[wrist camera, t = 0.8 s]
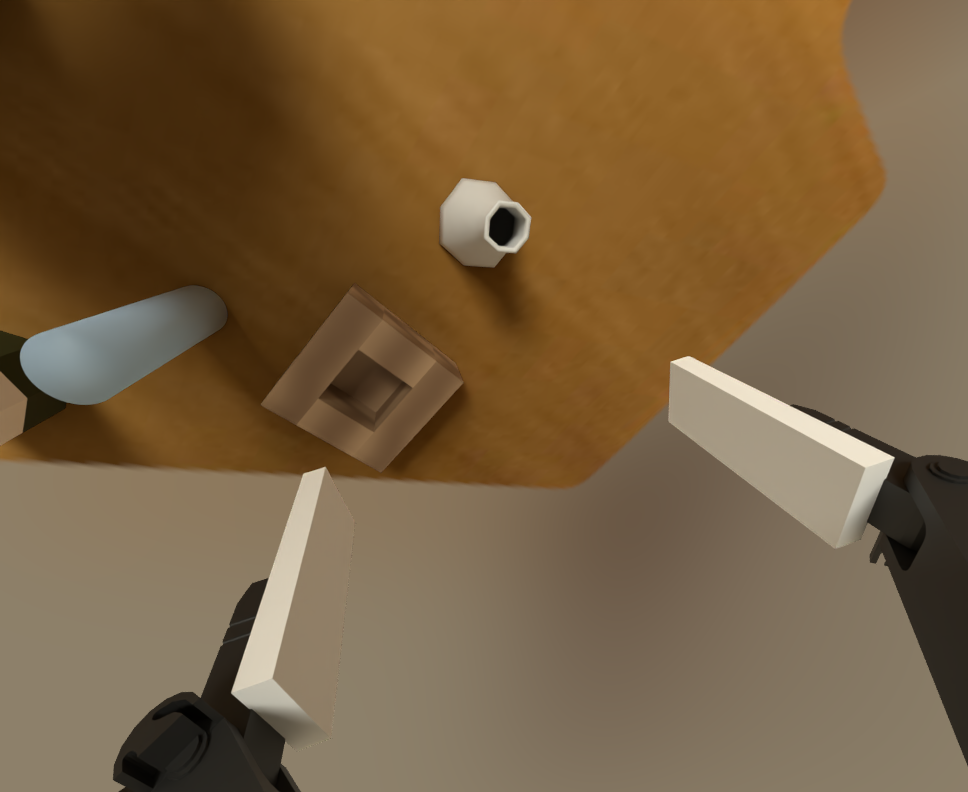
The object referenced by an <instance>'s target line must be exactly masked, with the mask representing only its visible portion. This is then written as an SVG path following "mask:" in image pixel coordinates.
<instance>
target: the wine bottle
mask: <svg viewBox="0 0 968 792" xmlns="http://www.w3.org/2000/svg"><path fill="white" fill-rule="evenodd" d="M27 340H28V339H25V338H22V337H19V336H16V335H13V334H9V333H6V332H3V331H0V445H2V444H4V443H6V442H7V441H9V440H11V439H13V438H14V437H16V436H18V435H20V434H21V433H23V432H25V431H27V430H28V429H30V428H32V427H34V426H35V425H37V424H39V423H41V422H42V421H44V420H46V419H48V418H49V417H51V416H53V415H54V414H56V413H58V412H60V411H61V410H63V409H65V406H66V402H64V401H61V400H58V399H56V398H54V397H52V396H50V395H48V394H46V393H45V392H43V391H42V390H40V389H39V388H38V387H36V386H35V385H34V384H33V383H32V382H31V381H30V380H29V378H28V377H27V376H26V374H25V372H24V370H23V368H22V366H21V362H20V352H21V349H22V347H23V345H24V343H25V342H26V341H27Z"/></svg>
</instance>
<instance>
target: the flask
mask: <svg viewBox="0 0 968 792" xmlns="http://www.w3.org/2000/svg"><path fill="white" fill-rule="evenodd" d="M530 223H531V216H530V215H529V214H528V213H527V212H526V211H525V210H524V209H523V207H522V206H521V205H520V204H519V203H518V202H513V201H512V200H511V199H510V198H509V196H508V195H507V194H506V193H505V192H504V191H503V190H502V189H501V188H500V187H499V186H498V185H497V183H496V182H489V181H481V180H472V179H464V178H462V179H461V180H460V182H459V183H458V184H457V186H456V187H455V188H454V190H453V191H452V192H451V194H450V195H449V196H448V198H447V199H446V200H445V202H444V203H443V204H442V205H441V207H440V236H439V243H440V244H441V245H442V246H443V247H444V248H445V249H446V250H447V251H448V252H450V253H451V254H452V255H453V256H454V257H455V258H456V259H457V260H458V261H459V262H460V263H462V264H463V265H464V266H478V267H493V268H494V267H495V266H496V265H497V264H498V262H499V261H500V260H501V259H502V258H503V256H504V255H505V254H506V253H517V252H518V250H519V249H520V248H521V247H522V246H523V244H524V243H525V242H526V241H527V240H528V238H529V232H530Z"/></svg>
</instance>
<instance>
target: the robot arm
mask: <svg viewBox="0 0 968 792" xmlns="http://www.w3.org/2000/svg"><path fill="white" fill-rule="evenodd" d="M668 421H669V422H670V423H671V424H672V425H674V426H675V427H676V428H678V429H679V430H680V431H682V432H683V433H684V434H685V435H687V436H688V437H689V438H691V439H692V440H693V441H695V442H696V443H697V444H699V445H700V446H701V447H702V448H704V449H705V450H706V451H708V452H709V453H710V454H712V455H713V456H714V457H716V458H717V459H718V460H720V461H721V462H722V463H724V464H725V465H726V466H727V467H729V468H730V469H731V470H733V471H734V472H735V473H736V474H738V475H739V476H740V477H742V478H743V479H744V480H746V481H747V482H748V483H750V484H751V485H752V486H754V487H755V488H756V489H757V490H759V491H760V492H761V493H763V494H764V495H765V496H767V497H768V498H769V499H771V500H772V501H773V502H774V503H776V504H777V505H778V506H780V507H781V508H782V509H784V510H785V511H786V512H788V513H789V514H790V515H792V516H793V517H794V518H795V519H797V520H798V521H799V522H801V523H802V524H803V525H805V526H806V527H807V528H809V529H810V530H811V531H812V532H814V533H815V534H816V535H818V536H819V537H820V538H822V539H823V540H824V541H826V542H827V543H828V544H829V545H831V546H832V547H834V548H835V549H836V548H839V547H842V546H845V545H847V544H850V543H852V542H855V541H858V540H861V538H862V535H863V533H864V530H865V528H866V525H867V523H870V524H871V525H872V526H874V527H875V528H877V529H878V530H880V534H879V536H878V538H877V540H876V542H875V545H874V547H873V549H872V551H871V554H870V562H871V563H876V562H877V560H878V558H879V556H880V554H881V553H883V555H884V557H885V560H886V562H885V564H884V565H885V566H888V567H889V570H890V572H891V575H892V577H893V580H894V582H895V585H896V588H897V590H898V593H899V595H900V597H901V600H902V603H903V605H904V608H905V610H906V613H907V615H908V618H909V620H910V622H911V625H912V627H913V630H914V633H915V635H916V638H917V640H918V643H919V645H920V648H921V650H922V652H923V655H924V658H925V660H926V663H927V665H928V667H929V670H930V673H931V675H932V678H933V680H934V683H935V685H936V688H937V690H938V692H939V695H940V698H941V700H942V703H943V705H944V708H945V710H946V713H947V715H948V718H949V720H950V723H951V725H952V728H953V730H954V733H955V735H956V738H957V740H958V743H959V745H960V748H961V750H962V753H963V755H964V758H965V760H966V763H967V765H968V462H967V461H964V460H961V459H958V458H953V457H947V456H941V455H926V456H921V457H917V458H916V457H913V456H911V455H909V454H907V453H905V452H903V451H901V450H898V449H897V448H894V447H892V446H890V445H888V444H886V443H884V442H882V441H880V440H877V439H875V438H873V437H871V436H869V435H867V434H865V433H863V432H861V431H858V430H856V429H851V428H850V427H849V426H848V425H846V424H843V423H842V422H839V421H835V420H834V419H833V418H831V417H829V416H827V415H824V414H822V413H820V412H818V411H816V410H813V409H809V408H805V407H801V406H798V405H790V406H789V405H787V404H785V403H783V402H781V401H779V400H777V399H775V398H773V397H771V396H769V395H767V394H765V393H763V392H761V391H758V390H757V389H755V388H752V387H750V386H748V385H746V384H744V383H742V382H740V381H738V380H736V379H734V378H732V377H730V376H728V375H726V374H724V373H722V372H720V371H718V370H716V369H714V368H712V367H710V366H708V365H706V364H704V363H702V362H700V361H698V360H696V359H694V358H692V357H690V356H688V357H684V358H681V359H678V360H675V361H671V364H670V392H669V420H668ZM354 530H355V521H354V519H353V517H352V515H351V513H350V511H349V509H348V508H347V506H346V504H345V502H344V500H343V498H342V496H341V495H340V493H339V491H338V489H337V487H336V485H335V483H334V481H333V480H332V478H331V476H330V474H329V472H328V470H327V468H326V467H324V468H320V469H317V470H314V471H311V472H307V473H304V474H303V476H302V479H301V483H300V486H299V489H298V492H297V495H296V498H295V501H294V504H293V507H292V510H291V513H290V516H289V519H288V522H287V525H286V528H285V531H284V534H283V537H282V540H281V543H280V546H279V549H278V552H277V555H276V558H275V561H274V564H273V567H272V571H271V573H270V576H269V578H267V579H264V580H261V581H258V582H255V583H252V584H251V585H250V587H249V588H248V590H247V591H246V592H245V594H244V595H243V596H242V598H241V599H240V601H239V602H238V604H237V606H236V608H235V611H234V614H233V616H232V619H231V621H230V628H228V629H227V631H226V635H225V637H224V639H223V645H222V646H221V647H220V650H219V652H218V655H217V657H216V660H215V662H214V665H213V668H212V670H211V673H210V676H209V678H208V680H207V683H206V686H205V688H204V691H203V693H202V696H201V698H200V697H198V696H197V695H196V694H195V693H193V692H181V693H179V694H176V695H174V696H172V697H170V698H168V699H166V700H164V701H163V702H162V703H160V704H159V705H158V706H156V707H155V708H154V709H152V710H151V711H150V712H149V713H148V714H147V715H146V716H145V717H144V718H143V719H142V720H141V721H140V723H139V724H138V725H137V726H136V727H135V728H134V729H133V731H132V732H131V734H130V735H129V737H128V738H127V740H126V741H125V743H124V744H123V745H122V747H121V749H120V752H119V754H118V757H117V759H116V761H115V764H114V774H113V780H114V781H116V782H118V783H120V784H122V785H124V786H125V788H124V789H122V790H121V791H119V792H301V791H300V790H299V788H298V787H297V785H296V783H295V782H294V780H293V778H292V777H291V775H290V774H289V772H288V770H287V769H286V767H284V766H283V765H282V764H281V759H282V754H283V749H284V744H285V741H286V742H287V743H288V744H289V745H290V746H291V747H292V748H294V749H295V750H296V751H299V750H302V749H305V748H307V747H310V746H312V745H315V744H318V743H321V742H323V741H326V740H329V739H331V734H332V725H333V717H334V707H335V698H336V689H337V681H338V671H339V663H340V654H341V646H342V637H343V628H344V619H345V609H346V600H347V592H348V583H349V574H350V565H351V557H352V547H353V538H354Z"/></svg>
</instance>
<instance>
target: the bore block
mask: <svg viewBox="0 0 968 792" xmlns="http://www.w3.org/2000/svg"><path fill="white" fill-rule="evenodd" d="M463 383H464V382H463V380H462V377H461V375H460V372H459V370H458V367H457V365H456V363H455V362H454V361H452V360H451V359H450V358H448V357H447V356H446V355H445V354H443V353H442V352H441V351H440V350H438V349H437V348H436V347H435V346H433V345H432V344H431V343H430V342H428V341H427V340H426V339H425V338H423V337H422V336H421V335H420V334H418V333H417V332H416V331H415V330H413V329H412V328H411V327H409V326H408V325H407V324H406V323H404V322H403V321H402V320H401V319H399V318H398V317H397V316H396V315H394V314H393V313H392V312H391V311H389V310H388V309H387V308H386V307H384V306H383V305H382V304H381V303H379V302H378V301H377V300H375V299H374V298H373V297H372V296H370V295H369V294H368V293H367V292H365V291H364V290H363V289H362V288H360V287H359V286H358V285H357V284H355V283H354V284H353V286H352V287H351V288H350V289H349V291H348V292H347V293H346V294H345V296H344V297H343V298H342V300H341V301H340V302H339V303H338V305H337V306H336V307H335V309H334V310H333V311H332V312H331V314H330V315H329V316H328V317H327V319H326V320H325V321H324V323H323V324H322V325H321V326H320V328H319V329H318V330H317V332H316V333H315V334H314V335H313V337H312V338H311V339H310V340H309V342H308V343H307V344H306V346H305V347H304V348H303V349H302V351H301V352H300V353H299V355H298V356H297V357H296V358H295V360H294V361H293V362H292V363H291V365H290V366H289V367H288V369H287V370H286V371H285V372H284V374H283V375H282V376H281V378H280V379H279V380H278V381H277V383H276V384H275V385H274V387H273V388H272V389H271V391H270V392H269V394H268V395H267V396H266V398H265V399H264V400H263V402H262V403H261V404H260V405H261V406H263V407H265V408H266V409H268V410H270V411H272V412H274V413H275V414H277V415H279V416H281V417H282V418H284V419H286V420H288V421H290V422H291V423H293V424H295V425H297V426H299V427H300V428H302V429H304V430H306V431H307V432H309V433H311V434H313V435H315V436H316V437H318V438H320V439H322V440H324V441H325V442H327V443H329V444H331V445H332V446H334V447H336V448H338V449H340V450H341V451H343V452H345V453H347V454H349V455H350V456H352V457H354V458H356V459H357V460H359V461H361V462H363V463H365V464H366V465H368V466H370V467H372V468H373V469H375V470H377V471H379V472H381V473H382V471H383V470H384V469H385V468H386V467H387V466H388V465H389V464H390V463H391V462H392V460H393V459H394V458H395V457H396V456H397V455H398V454H399V453H400V452H401V451H402V449H403V448H404V447H405V446H406V445H407V444H408V443H409V442H410V441H411V440H412V439H413V437H414V436H415V435H416V434H417V433H418V432H419V431H420V430H421V429H422V428H423V426H424V425H425V424H426V423H427V422H428V421H429V420H430V419H431V418H432V417H433V415H434V414H435V413H436V412H437V411H438V410H439V409H440V408H441V407H442V406H443V404H444V403H445V402H446V401H447V400H448V399H449V398H450V397H451V396H452V395H453V394H454V392H455V391H456V390H457V389H458V388H459V387H460V386H461V385H462V384H463Z"/></svg>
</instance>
